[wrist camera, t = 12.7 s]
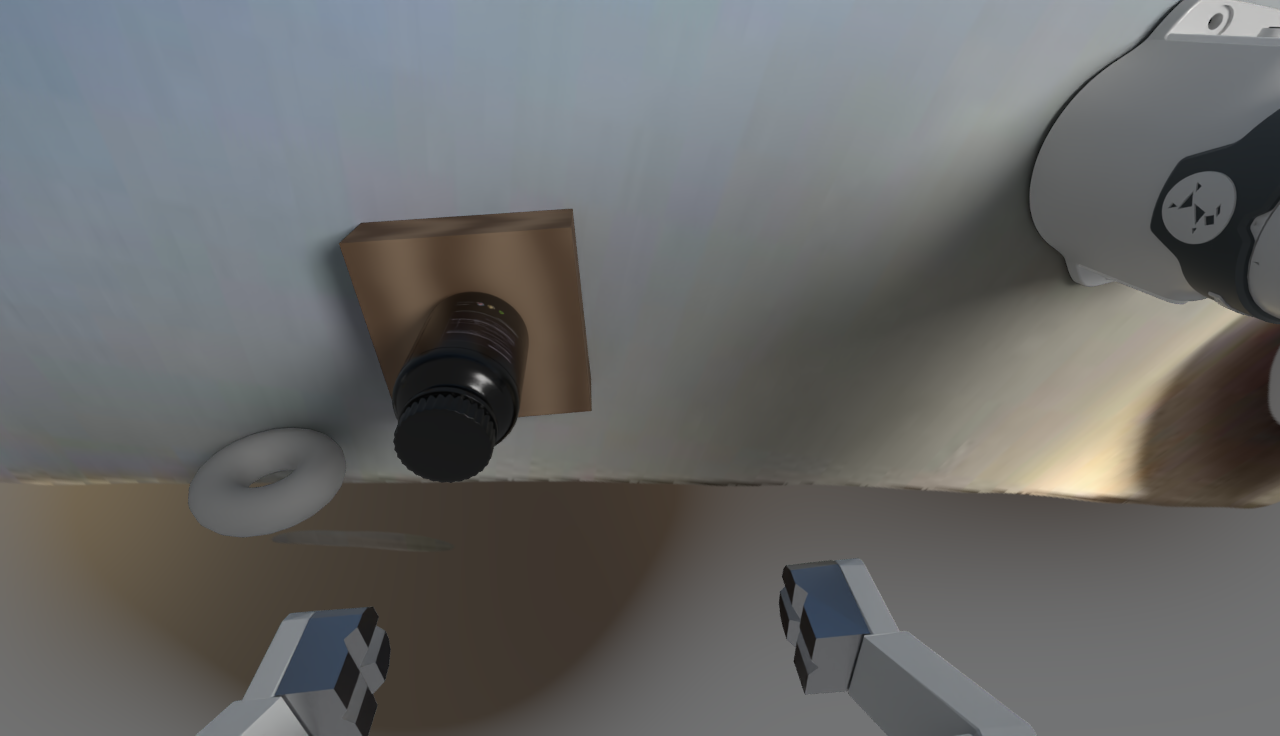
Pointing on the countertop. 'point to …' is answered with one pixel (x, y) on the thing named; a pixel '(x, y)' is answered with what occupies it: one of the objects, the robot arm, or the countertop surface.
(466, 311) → the supplement bottle
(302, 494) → the donut
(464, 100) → the countertop surface
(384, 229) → the walnut base
